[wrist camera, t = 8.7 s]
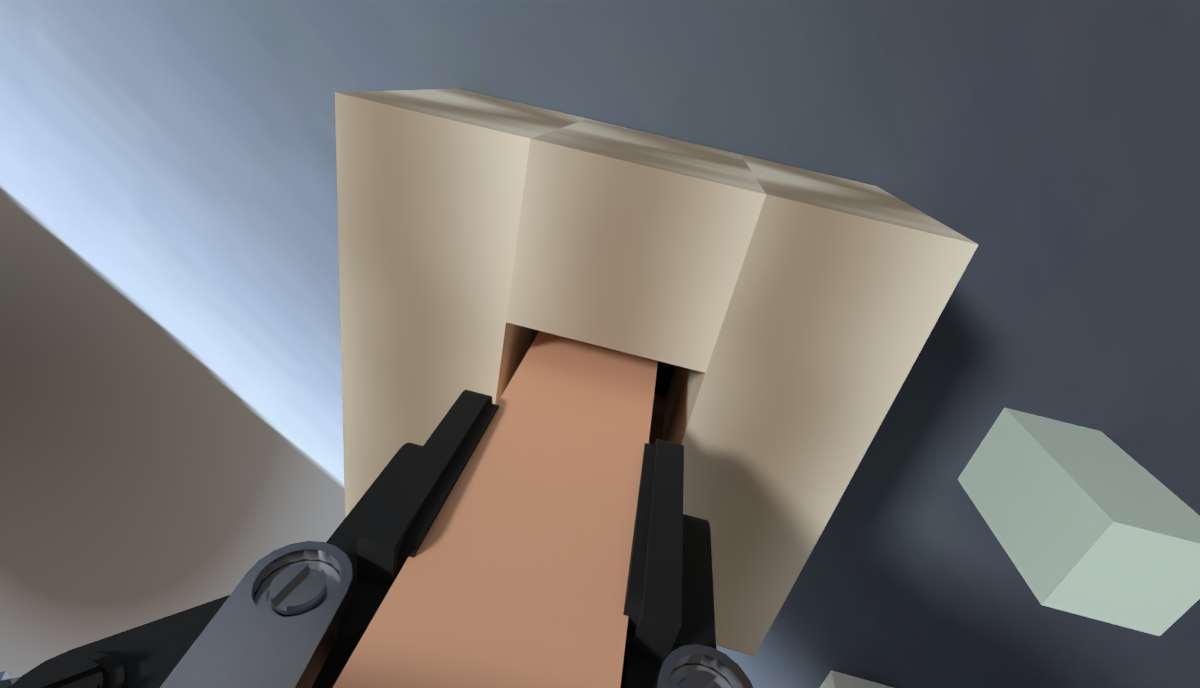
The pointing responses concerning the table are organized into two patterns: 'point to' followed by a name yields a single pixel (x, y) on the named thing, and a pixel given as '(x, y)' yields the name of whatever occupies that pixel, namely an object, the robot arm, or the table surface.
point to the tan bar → (527, 539)
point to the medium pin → (848, 682)
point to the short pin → (1086, 522)
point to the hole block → (634, 304)
